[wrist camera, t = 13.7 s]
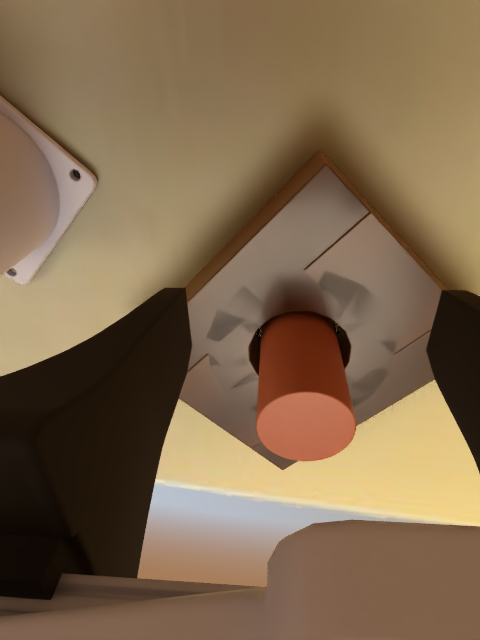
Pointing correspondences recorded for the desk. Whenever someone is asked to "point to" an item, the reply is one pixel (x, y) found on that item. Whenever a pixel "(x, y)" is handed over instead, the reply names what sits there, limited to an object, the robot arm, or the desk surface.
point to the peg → (303, 388)
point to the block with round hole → (310, 301)
